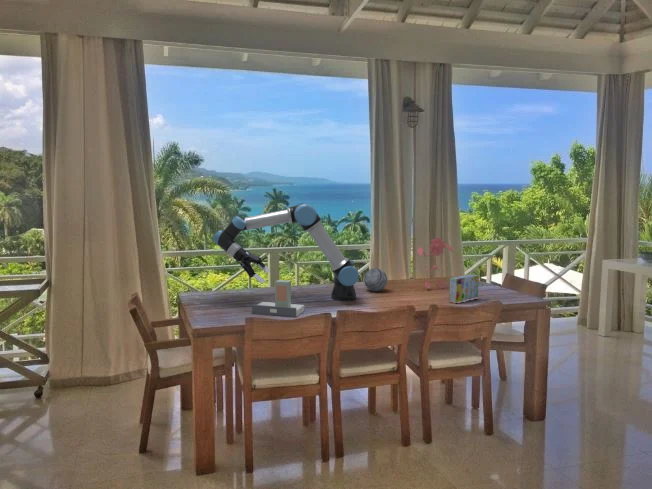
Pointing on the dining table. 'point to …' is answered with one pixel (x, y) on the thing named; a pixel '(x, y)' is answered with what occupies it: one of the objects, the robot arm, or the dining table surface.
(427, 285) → the figurine
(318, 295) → the dining table surface
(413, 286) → the dining table surface
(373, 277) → the decorative orb
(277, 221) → the robot arm
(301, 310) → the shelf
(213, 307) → the dining table surface
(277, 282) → the carton
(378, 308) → the dining table surface
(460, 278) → the snack box
